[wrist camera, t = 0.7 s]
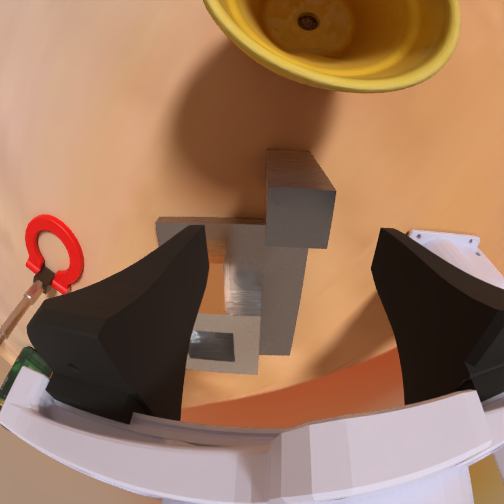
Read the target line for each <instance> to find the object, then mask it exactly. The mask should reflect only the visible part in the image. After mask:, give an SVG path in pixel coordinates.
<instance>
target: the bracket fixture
mask: <svg viewBox="0 0 504 504" xmlns="http://www.w3.org/2000/svg"><path fill="white" fill-rule="evenodd" d="M155 224H156V230H157V236H158V241H159V247H160V246H161V245H163V244H164V243H165V242H167V241H168V240H169V239H171V238H172V237H173V236H175V235H176V234H177V233H179V232H180V231H181V230H183V229H184V228H186V227H187V226H189V225H205V233H206V242H207V250H208V258H209V266H210V268H209V274H208V280H207V285H206V289H205V292H204V296H203V299H202V302H201V305H200V308H199V311H198V315H197V318H196V321H195V324H194V327H193V331H192V335H191V339H190V344H189V350H188V356H187V362H186V369H189V370H198V371H208V372H220V373H233V374H251V375H258V357H259V355H290V351H291V346H292V341H293V336H294V331H295V325H296V320H297V315H298V309H299V303H300V298H301V292H302V286H303V280H304V273H305V267H306V260H307V254H308V248H293V247H266V246H265V225H266V219H248V218H207V217H159V218H158V220H157V221H156V222H155Z"/></svg>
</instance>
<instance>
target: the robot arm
mask: <svg viewBox="0 0 504 504" xmlns="http://www.w3.org/2000/svg"><path fill="white" fill-rule="evenodd" d="M417 235H419V236H418V237H417ZM469 240H470V241H469ZM479 241H480V239H479V237H478V236H473V235H464V234H455V233H445V232H434V231H424V230H411V231H410V232H409V234H408V236H407V235H405V234H404V233H402V232H400V231H398V230H396V229H394V228H381V229H380V233H379V238H378V242H377V246H376V250H375V254H374V258H373V262H372V266H371V271H372V275H373V279H374V282H375V286H376V289H377V291H378V294H379V296H380V299H381V301H382V304H383V306H384V309H385V311H386V314H387V316H388V319H389V321H390V324H391V327H392V329H393V332H394V336H395V339H396V344H397V348H398V353H399V358H400V364H401V370H402V377H403V387H404V401H405V406H400V407H395V408H390V409H385V410H378V411H372V412H366V413H358V414H351V415H342V416H337V417H332V418H326V419H320V420H313V421H309V422H306V423H303V424H300V425H297V426H294V427H291V428H242V427H225V426H213V425H205V424H195V423H188V422H182V421H180V418H181V403H182V393H183V384H184V376H185V369H186V362H187V356H188V350H189V344H190V339H191V335H192V331H193V327H194V324H195V321H196V318H197V315H198V311H199V308H200V305H201V302H202V299H203V296H204V292H205V289H206V285H207V280H208V274H209V268H210V266H209V258H208V250H207V242H206V233H205V225H189V226H187V227H186V228H184V229H183V230H181V231H180V232H179V233H177V234H176V235H175V236H173V237H172V238H171V239H169V240H168V241H167V242H165V243H164V244H163V245H161V246H160V247H158V248H157V249H156V250H154V251H153V252H151V253H150V254H148V255H147V256H145V257H144V258H143V259H141V260H139V261H138V262H136V263H135V264H133V265H131V266H129V267H128V268H126V269H124V270H122V271H120V272H118V273H116V274H114V275H112V276H110V277H108V278H106V279H104V280H102V281H100V282H97V283H95V284H92V285H90V286H88V287H85V288H82V289H79V290H77V291H74V292H71V293H67V294H64V295H60V296H57V297H53V298H50V299H46V300H44V302H43V303H42V305H41V306H40V307H39V309H38V310H37V312H36V313H35V315H34V316H33V317H32V319H31V320H30V322H29V323H28V325H27V334H28V337H29V339H30V342H31V343H32V345H33V346H34V348H35V349H36V351H37V352H38V353H39V355H40V356H41V357H42V358H43V360H44V361H45V362H46V363H47V365H48V366H49V367H50V368H51V369H52V371H53V374H52V376H51V378H48V377H47V376H46V375H44V374H42V373H40V372H38V371H35V370H33V369H31V368H28V367H26V366H22V368H21V370H20V372H19V374H18V375H17V377H16V379H15V381H14V383H13V385H12V387H11V389H10V391H9V393H8V396H7V398H6V400H5V402H4V404H3V406H2V409H1V411H0V423H1V424H2V425H3V426H4V427H6V428H7V429H8V430H10V431H11V432H13V433H14V434H15V435H17V436H18V437H19V438H21V439H22V440H24V441H25V442H27V443H28V444H30V445H32V446H33V447H35V448H36V449H38V450H39V451H41V452H43V453H44V454H46V455H48V456H50V457H52V458H54V459H55V460H57V461H59V462H61V463H63V464H65V465H67V466H69V467H71V468H73V469H75V470H77V471H79V472H82V473H84V474H86V475H88V476H91V477H93V478H95V479H98V480H100V481H103V482H105V483H108V484H110V485H113V486H116V487H119V488H122V489H125V490H128V491H131V492H134V493H137V494H140V495H144V496H147V497H151V498H155V499H159V500H162V504H474V500H473V493H472V486H471V480H470V475H469V469H468V466H470V465H472V464H474V463H476V462H477V461H479V460H481V459H483V458H485V457H486V456H488V455H490V454H493V457H494V459H495V462H496V464H497V467H498V469H499V472H500V474H501V477H502V480H503V483H504V277H503V276H502V275H501V274H500V272H499V271H498V270H497V269H496V268H495V266H494V265H493V264H492V263H491V262H490V261H489V259H488V258H487V257H486V256H485V255H484V254H483V253H482V252H481V251H480V249H479V248H478V244H479Z"/></svg>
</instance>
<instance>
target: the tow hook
mask: <svg viewBox="0 0 504 504" xmlns="http://www.w3.org/2000/svg"><path fill="white" fill-rule="evenodd" d="M42 230H47V231H50V232H52V233H53V234H55V235H56V236H57V237H58V238H59V239H60V240H61V241H62V242H63V244H64V245H65V247H66V249H67V251H68V254H69V257H70V266H69V269H67V270H65V271H60V270H59V271H58V272H57V273H56V274H55V273H53V272H52V271H51V270H49V269H48V268H47V267H45V266H43V263H44V260H43V257H42V256H41V254H40V252H39V249H38V246H37V235H38V233H39V231H42ZM25 241H26V247H27V250H28V253H29V259H28V260H27V262H26V267H28V268H29V269H30V270H31V271H33V272H34V273H35V274H36V275H35V276H34V280H33V284H32V286H31V287H30V288H29V289H28V290H27V291H26V293H25V294H24V298H23V299H22V300H21V302H20V303H19V304H18V305H17V307H16V308H15V309H14V311H13V312H12V313H11V315H10V316H9V317H8V319H7V320H6V321H5V323H4V324H3V326H2V327H1V329H0V345H1V344H2V342H3V341H4V339H7V338H8V337H9V335H10V334H11V332H12V331H13V329H14V328H15V326H16V325H17V323H18V322H19V321H20V319H21V318H22V316H23V315H24V314H25V312H26V311H27V310H28V308H29V307H30V305H33V304H34V303H35V302H36V300H37V299H38V298H39V297H40V295H41V294H42V293H45V294H46V293H47V292H48V291H49V290H50V288H51V287H53V288H55V289H56V290H57V291H59V292H60V293H62V294H63V295H64V294H67V293H69V291H70V289H71V286H70V285H69V284H72V283H73V282H75V281H76V280H77V279H78V278H79V276H80V275H81V273H82V271H83V267H84V258H83V254H82V250H81V247H80V245H79V243H78V240H77V238H76V237H75V236H74V234H73V233H72V231H71V230H70V229H69V228H68V227H67V226H66V225H65V224H64V223H63V222H62V221H60V220H59V219H57V218H56V217H53V216H51V215H39V216H37V217H35V218H34V219H32V221H31V222H30V223H29V224H28V226H27V229H26V234H25Z"/></svg>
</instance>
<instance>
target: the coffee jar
mask: <svg viewBox="0 0 504 504" xmlns="http://www.w3.org/2000/svg"><path fill="white" fill-rule="evenodd" d="M22 366H26V367H28V368H31V369H33V370H35V371H38V372H40V373H42V374H44V375H46V376H47V377H48V378H49V377H50V375H51V373H52V369H51V368H50V367H49V366H48V365H47V363H46V362H45V361H44V360H43V358H42V357H41V356H40V355H39V353H38V352H36V351H35V350H33V349H32V348H31V347H25V348H23V350H22V351H21V353H20V354H19V356H18V358H17V359H16V361H15V363H14V365H13V366H12V368H11V370H10V372H9V373H8V375H7V377H6V379H5V381H4V383H3V384H2V386H1V389H0V411H1V409H2V406H3V404H4V402H5V400H6V398H7V396H8V393H9V391H10V389H11V387H12V385H13V383H14V381H15V379H16V377H17V375H18V374H19V372H20V370H21V368H22ZM0 424H1V423H0ZM1 425H2V424H1ZM2 426H3V425H2ZM3 427H4V426H3ZM4 428H5V429H7V428H6V427H4ZM7 430H8V429H7ZM9 431H10V430H9Z"/></svg>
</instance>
